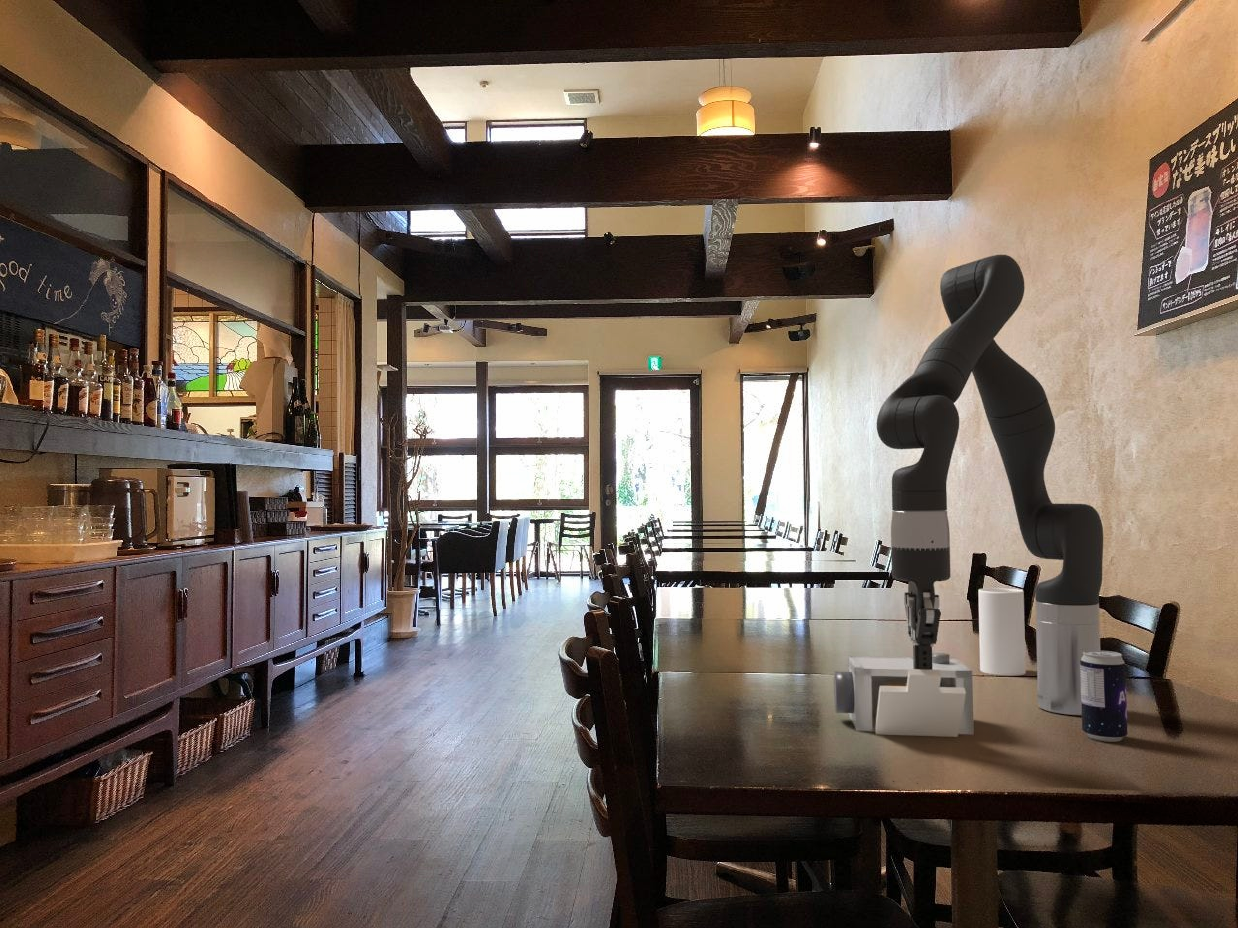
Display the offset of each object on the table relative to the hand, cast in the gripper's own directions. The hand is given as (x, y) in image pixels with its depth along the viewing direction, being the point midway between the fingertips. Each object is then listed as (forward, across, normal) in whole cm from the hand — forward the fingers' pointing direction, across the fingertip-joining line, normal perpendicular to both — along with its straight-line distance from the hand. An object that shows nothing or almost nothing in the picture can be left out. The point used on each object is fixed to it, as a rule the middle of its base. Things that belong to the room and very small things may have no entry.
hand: (922, 673), depth 118 cm
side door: (+10, +6, 0) cm, 11 cm away
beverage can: (+11, +12, -27) cm, 32 cm away
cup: (+12, +60, -26) cm, 66 cm away
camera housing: (+11, +12, +1) cm, 16 cm away
